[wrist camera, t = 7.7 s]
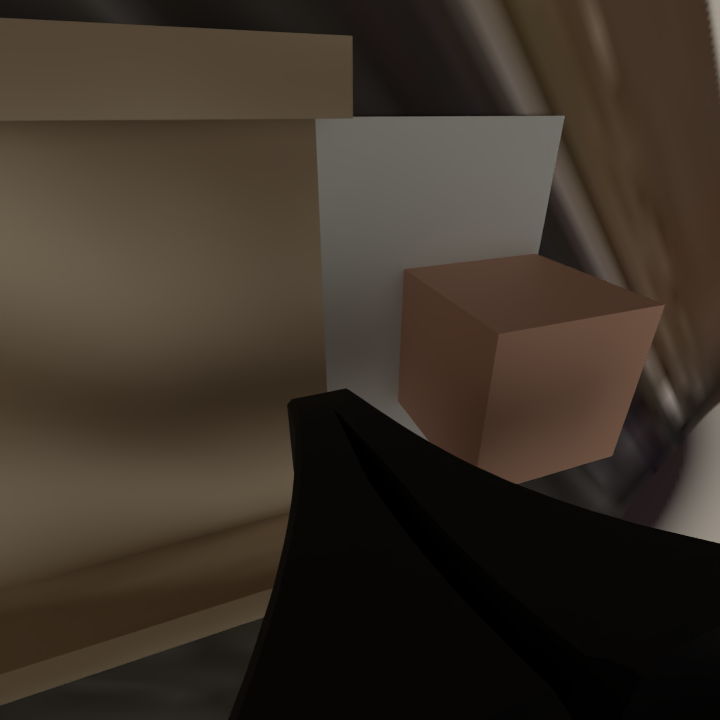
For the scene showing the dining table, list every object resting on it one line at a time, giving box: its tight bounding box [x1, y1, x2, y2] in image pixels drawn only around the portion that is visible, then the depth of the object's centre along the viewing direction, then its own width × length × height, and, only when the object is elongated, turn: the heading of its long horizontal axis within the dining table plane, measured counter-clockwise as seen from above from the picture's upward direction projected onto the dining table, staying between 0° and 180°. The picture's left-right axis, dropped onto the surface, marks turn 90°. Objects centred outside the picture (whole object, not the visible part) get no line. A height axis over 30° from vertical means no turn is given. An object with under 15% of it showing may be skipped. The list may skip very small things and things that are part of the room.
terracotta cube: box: [398, 254, 665, 484], centre depth 13 cm, size 4×4×4 cm
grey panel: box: [315, 116, 565, 441], centre depth 14 cm, size 12×7×1 cm, turn 179°
